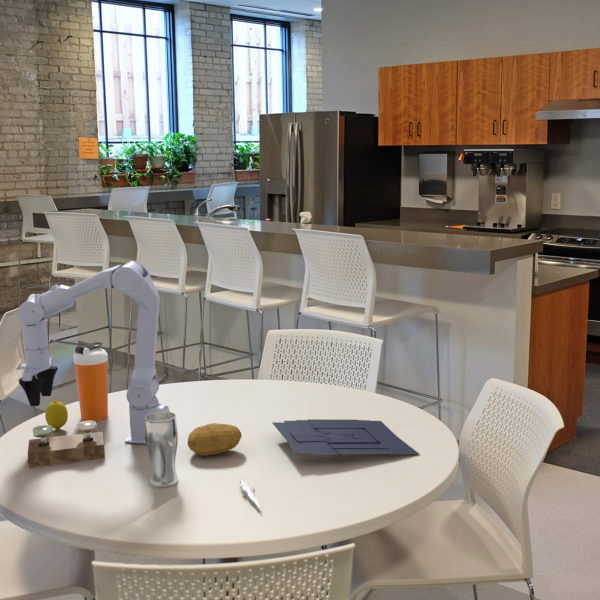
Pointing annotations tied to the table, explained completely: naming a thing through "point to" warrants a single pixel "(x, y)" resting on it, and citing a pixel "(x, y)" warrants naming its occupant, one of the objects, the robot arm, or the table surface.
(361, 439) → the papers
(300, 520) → the table surface
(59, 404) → the lemon
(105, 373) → the shaker bottle
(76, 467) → the table surface
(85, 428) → the silver knob
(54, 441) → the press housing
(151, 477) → the beer glass
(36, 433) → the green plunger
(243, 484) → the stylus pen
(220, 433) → the potato
